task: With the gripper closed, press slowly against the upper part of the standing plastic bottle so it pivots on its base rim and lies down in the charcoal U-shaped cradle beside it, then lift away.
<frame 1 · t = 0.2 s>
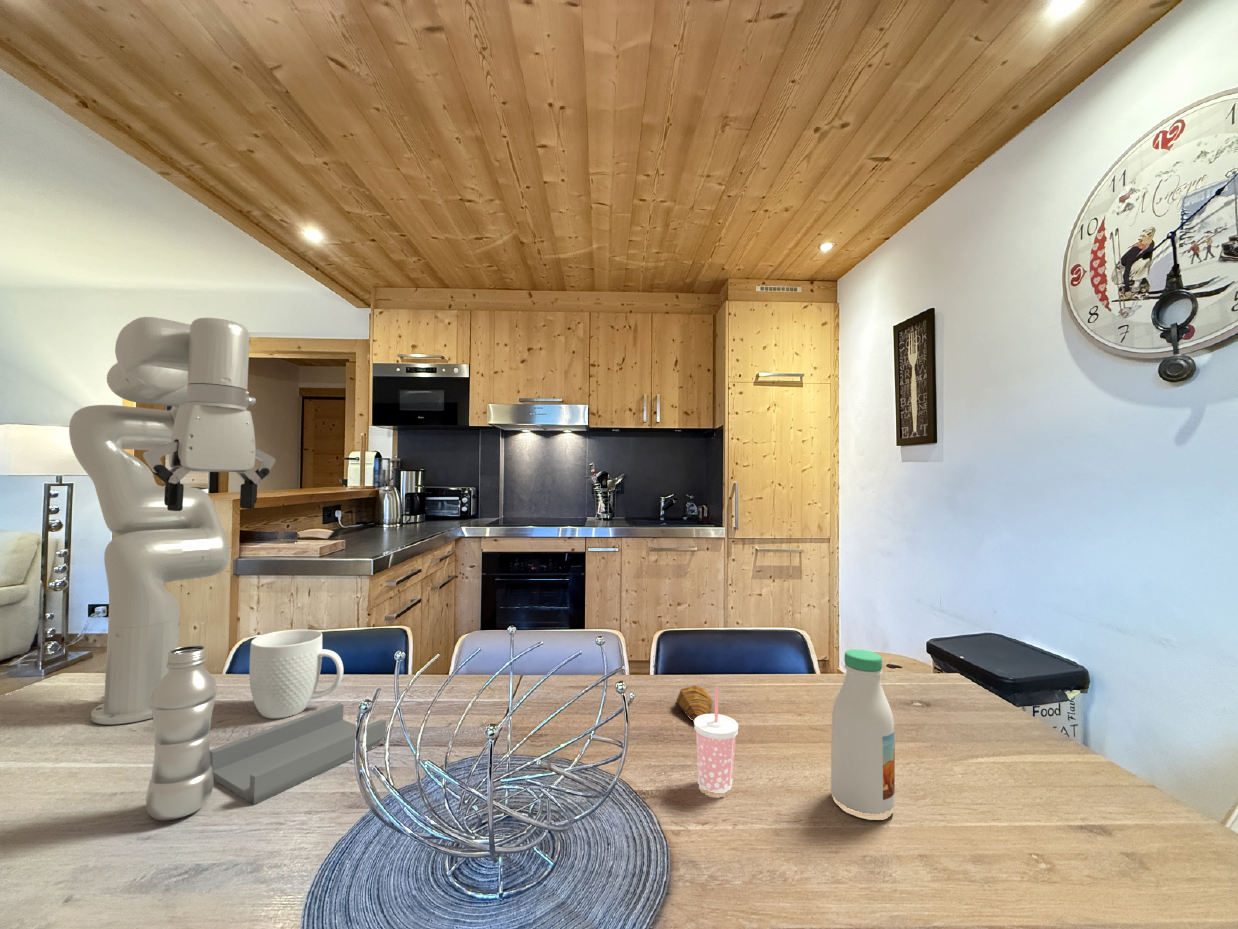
hand: (212, 509, 82), 37 cm above the table, tool pointing down, fingers open, 9 cm apart
mug: (291, 711, 95), on the table
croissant: (694, 713, 99), on the table
beverage cup: (714, 790, 74), on the table
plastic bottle: (179, 813, 66), on the table
milk bottle: (861, 806, 71), on the table
cradle: (302, 758, 79), on the table
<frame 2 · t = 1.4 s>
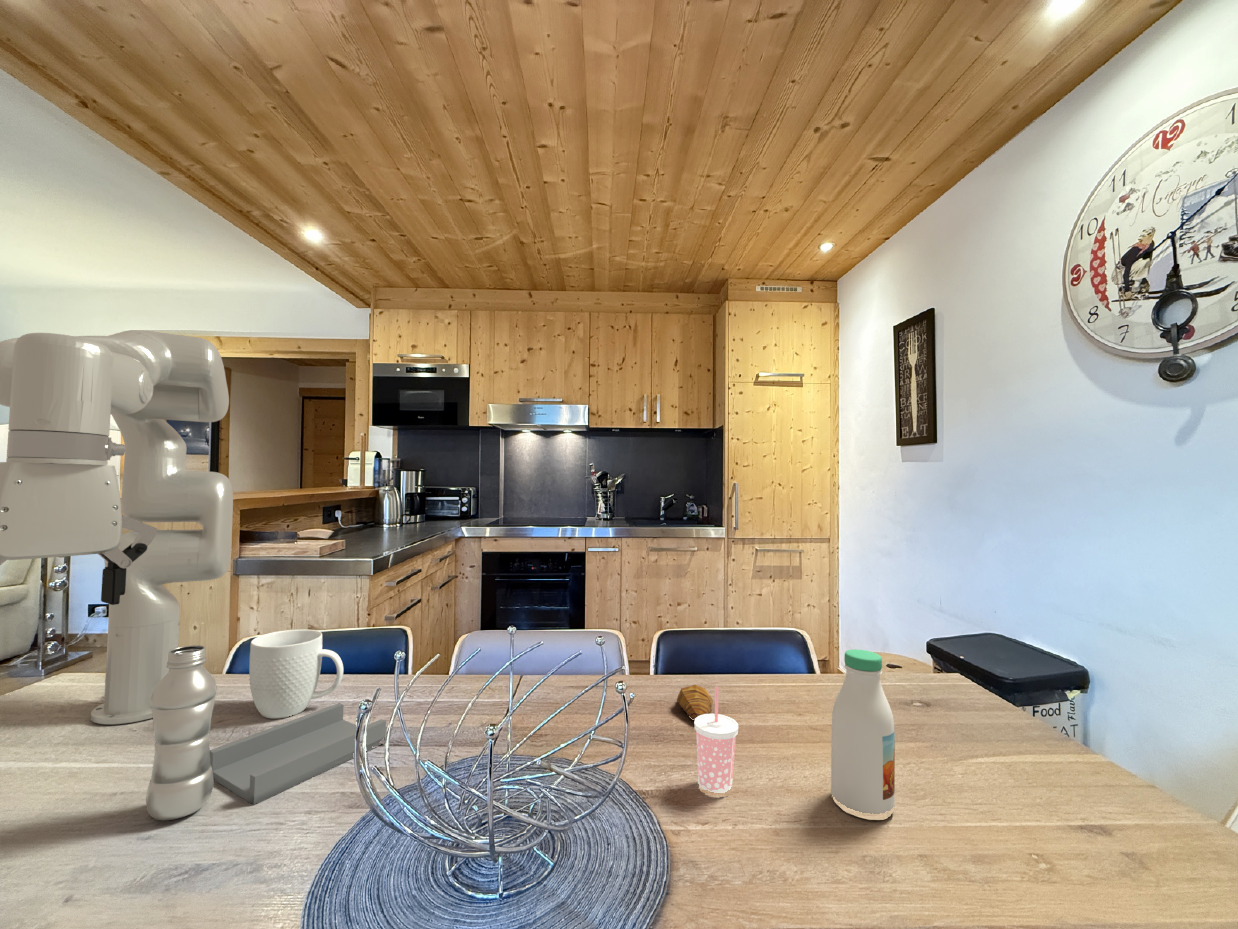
hand: (50, 611, 56), 27 cm above the table, tool pointing down, fingers open, 9 cm apart
nothing on the table moved.
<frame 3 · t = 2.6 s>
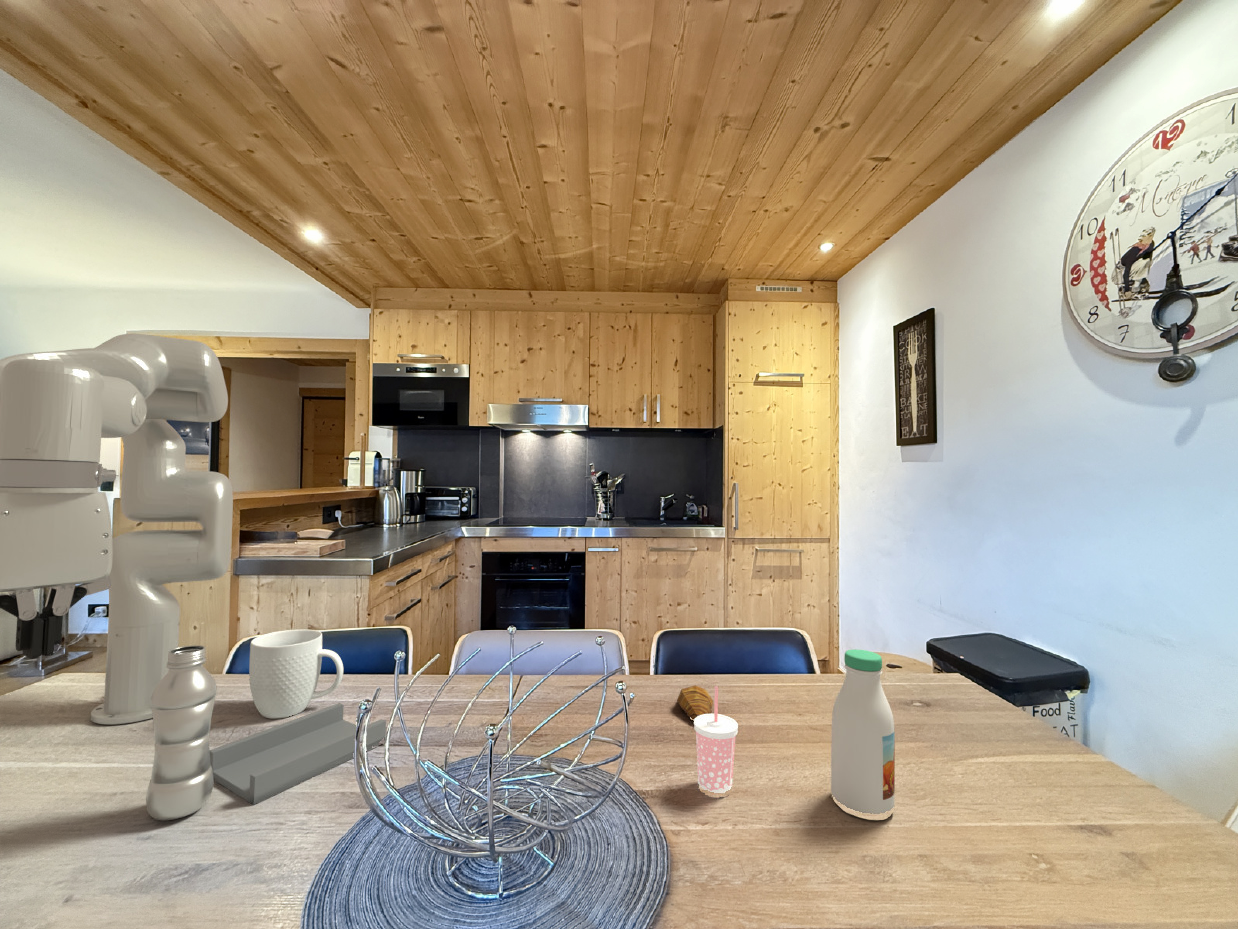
hand: (38, 654, 55), 23 cm above the table, tool pointing down, fingers closed
nothing on the table moved.
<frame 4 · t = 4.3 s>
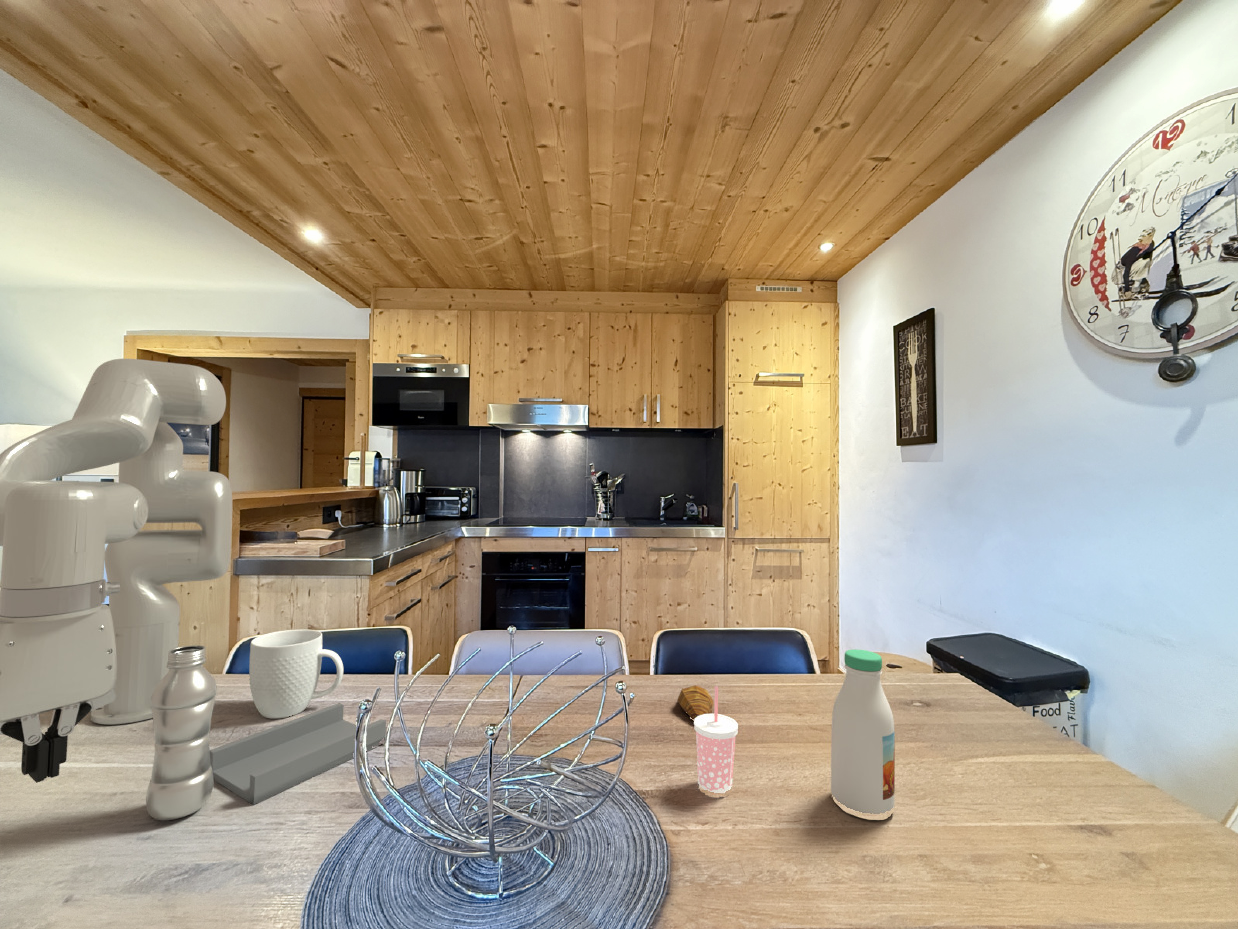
hand: (43, 775, 56), 10 cm above the table, tool pointing down, fingers closed
nothing on the table moved.
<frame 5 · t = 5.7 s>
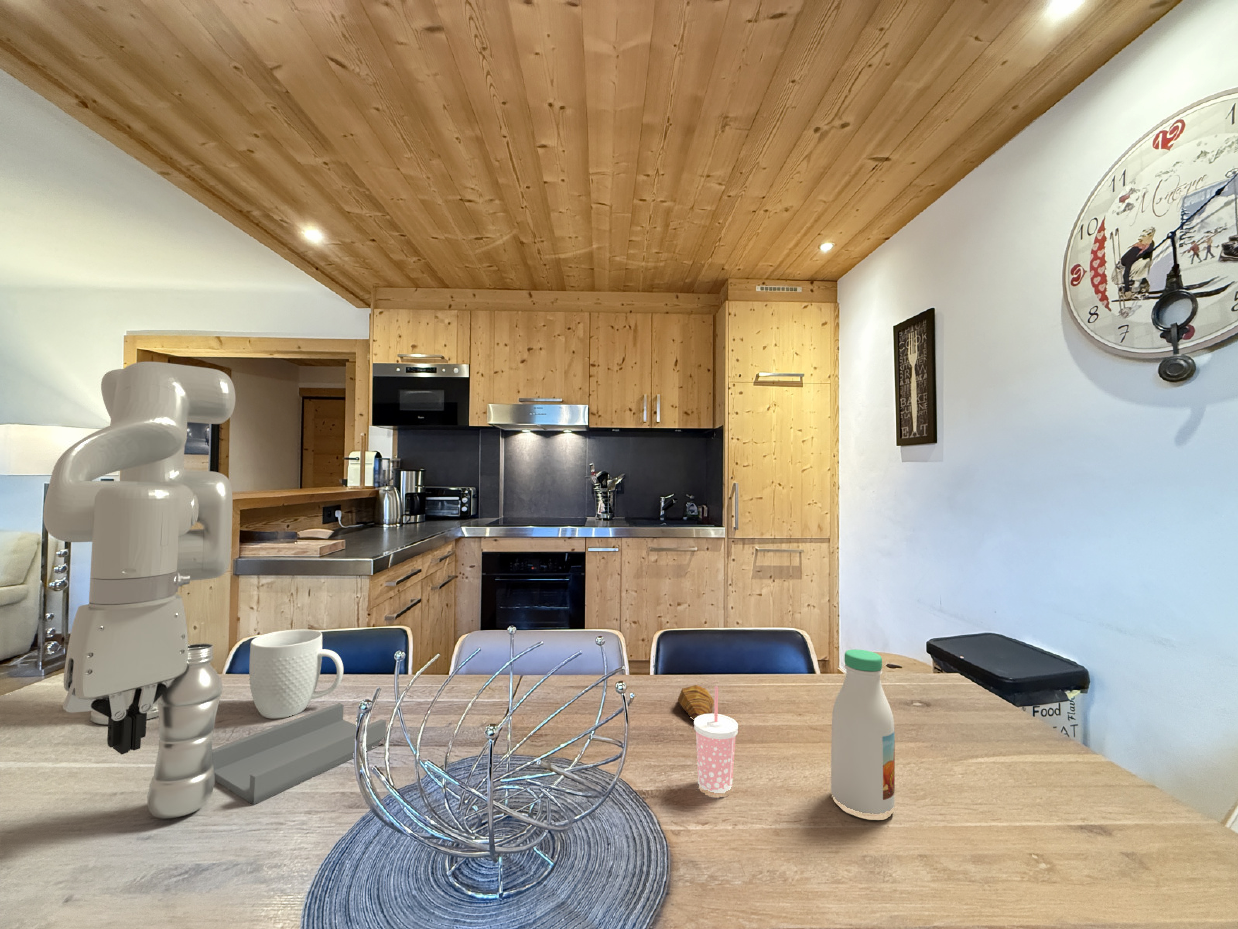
hand: (126, 748, 62), 10 cm above the table, tool pointing down, fingers closed
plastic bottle: (179, 812, 66), on the table, touching gripper
everything else where it was.
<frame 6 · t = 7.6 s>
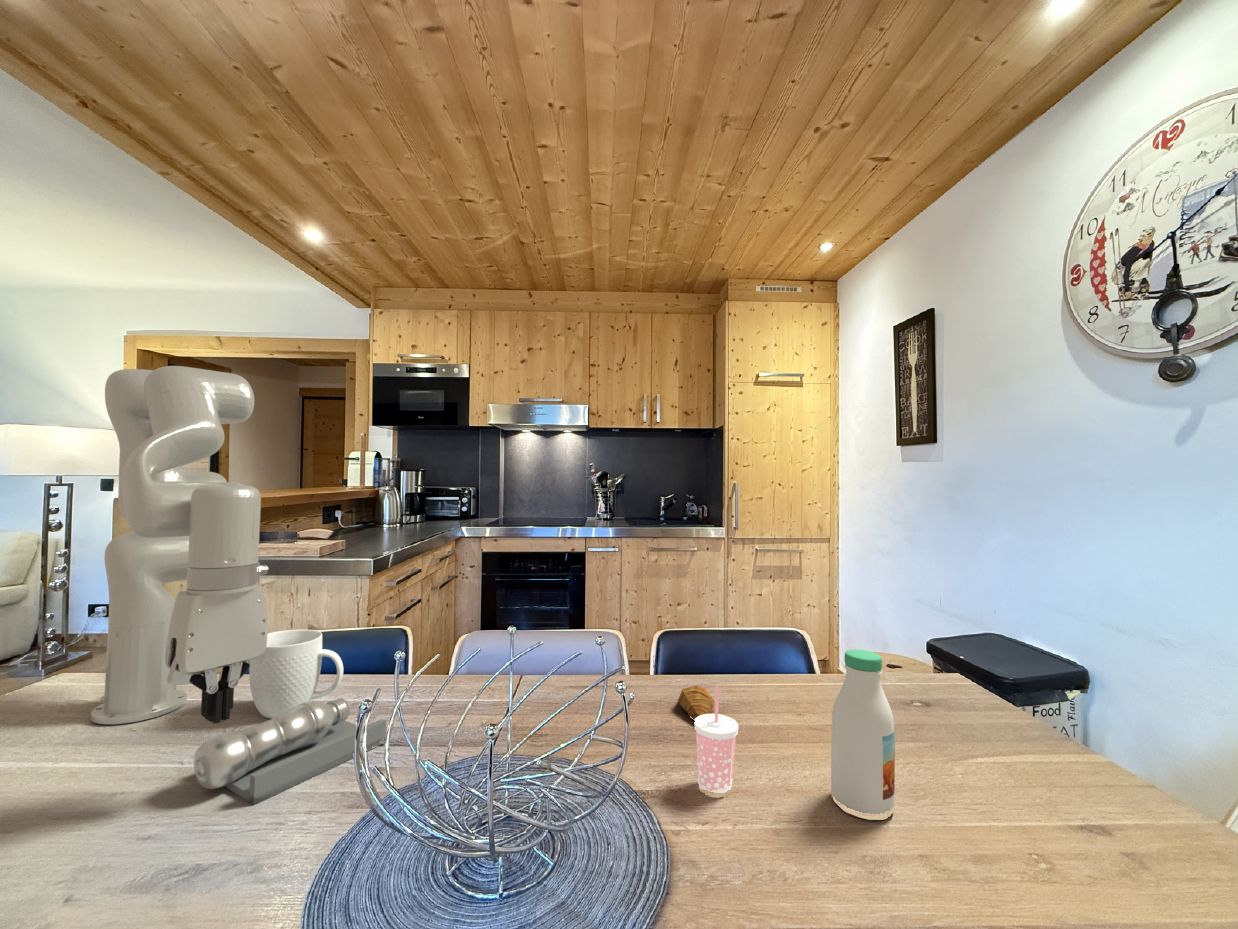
hand: (216, 718, 69), 10 cm above the table, tool pointing down, fingers closed
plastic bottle: (197, 770, 69), point 4 cm above the table, touching cradle
everything else where it was.
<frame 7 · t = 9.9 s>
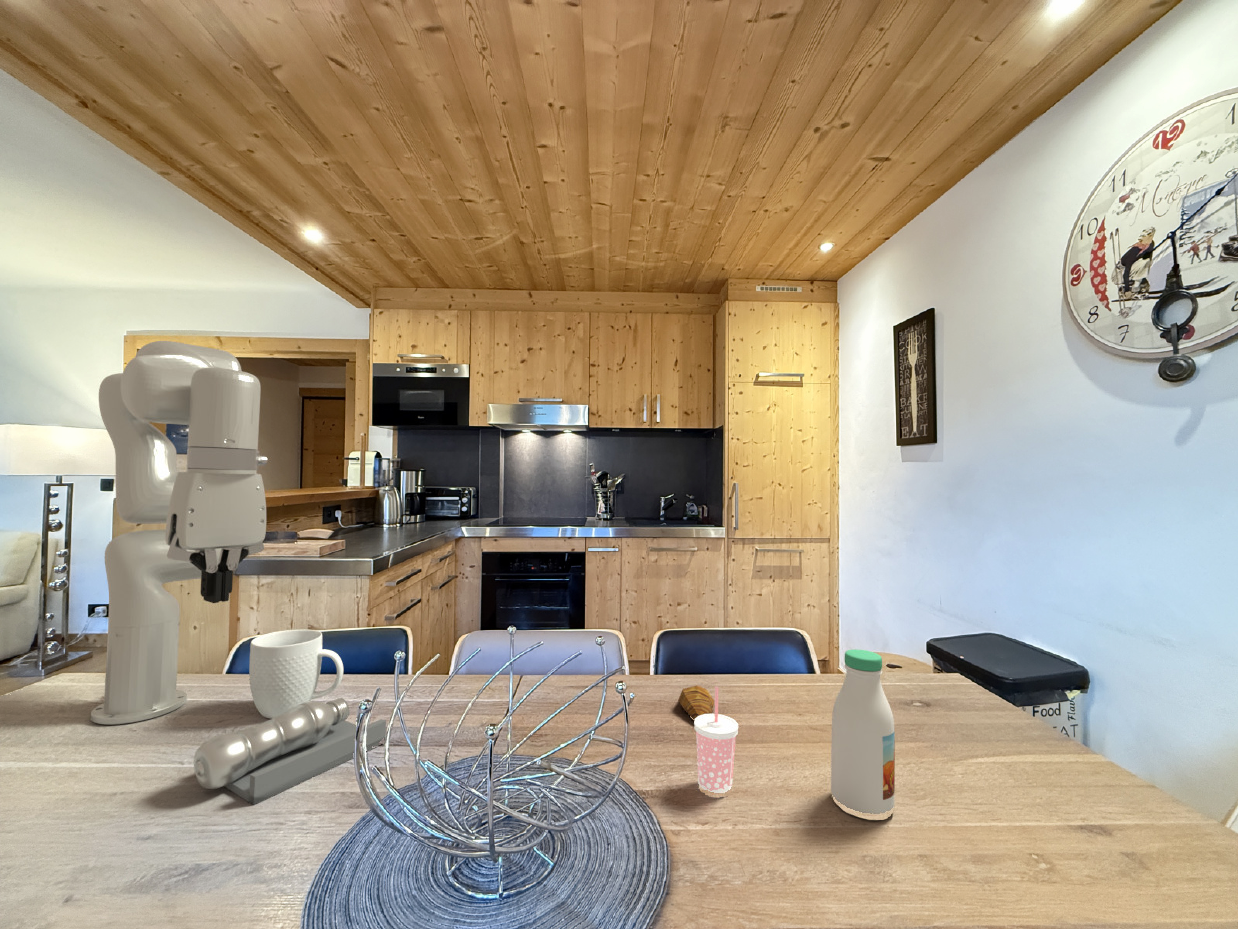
hand: (216, 600, 70), 25 cm above the table, tool pointing down, fingers closed
nothing on the table moved.
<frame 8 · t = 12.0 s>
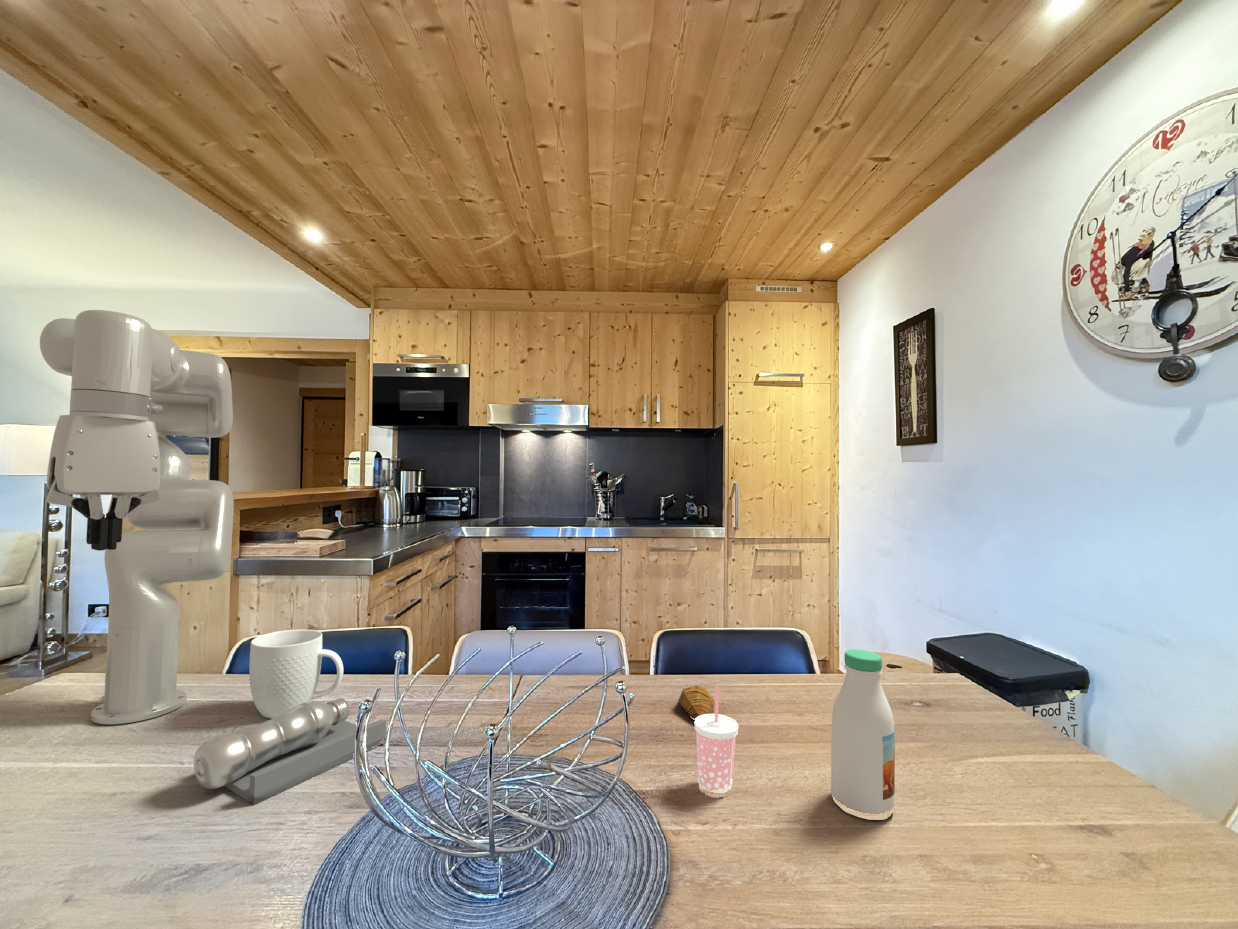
hand: (103, 548, 69), 32 cm above the table, tool pointing down, fingers closed
nothing on the table moved.
at the end: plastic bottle tilted 89°; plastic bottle touching cradle; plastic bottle inside the target area (3.1 cm from its centre), point 3.8 cm above the table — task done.
